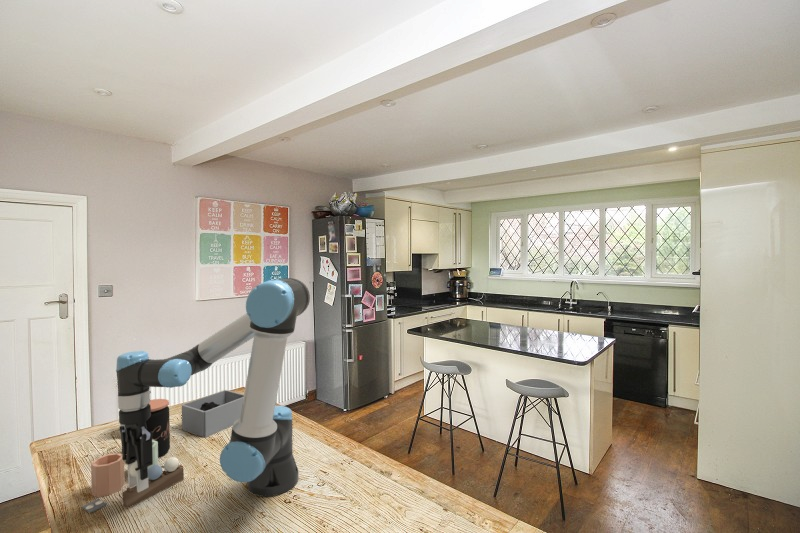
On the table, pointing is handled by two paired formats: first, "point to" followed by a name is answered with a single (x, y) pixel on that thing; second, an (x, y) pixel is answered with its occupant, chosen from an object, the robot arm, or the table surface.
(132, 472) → the cream ball
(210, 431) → the box
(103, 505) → the tubes
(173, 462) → the cream ball
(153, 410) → the coffee jar
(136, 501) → the rack
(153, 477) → the blue ball
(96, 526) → the table surface
